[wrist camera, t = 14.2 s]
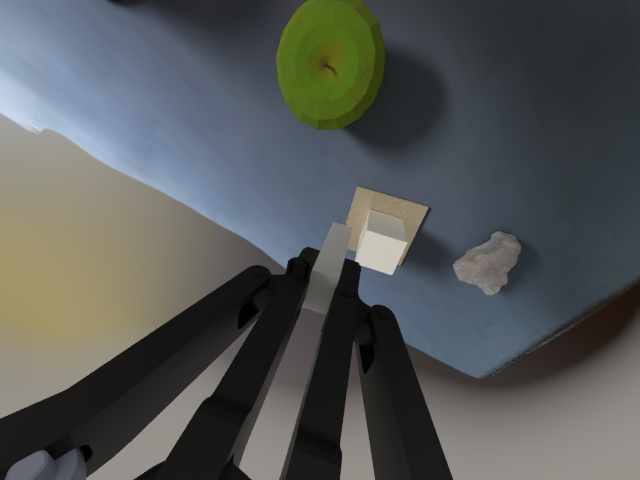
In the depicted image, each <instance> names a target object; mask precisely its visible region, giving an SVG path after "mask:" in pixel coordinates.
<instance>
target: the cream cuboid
mask: <svg viewBox="0 0 640 480" xmlns="http://www.w3.org/2000/svg"><path fill="white" fill-rule="evenodd" d="M406 245H407V238H406V233H405V228H404V223H403V219H400V218H396V217H393V216H390V215H386V214H383V213H380V212H376V211H373V210H369V212H368V215H367V218H366V221H365V223H364V226H363V229H362V232H361V235H360V237H359V242H358V247H357V253H356V258H355V262H359V264H360V265H362V266H365V267H368V268H371V269H374V270H377V271H380V272H383V273H386V274H389V275H392V274H393V272H394V270H395V268H396V266H397V264H398V262H399V260H400V258H401V255H402V253H403V251H404V249H405V247H406Z"/></svg>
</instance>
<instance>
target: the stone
mask: <svg viewBox="0 0 640 480" xmlns="http://www.w3.org/2000/svg"><path fill="white" fill-rule="evenodd" d="M520 252H521V245H520V243H519V242H518V240H517V239H516V237H515V236H514V235H511V234H506V233H503V232H500V231H496V232H495V233H493V234H492V235H491V239H490V240H489V241H487V242H486V243H483V244H482V245H480V246H477V247H474V248H472V249H470V250H468V251H467V252H466V254H465V256H462V257H461V258H460V259H458V260H456V261H455V263H454V264H453V269H454V271H455V273H456V275H457V278H458V279H459V280H460V281H463V282H467V283H469V284H474V285H477V286H479V287H480V288H481V289H482V290H483V291H484V292H485V293H486V294H487V295H493V294H494V293H498V292H499V290H500V288H501V286H503V285H506V284H507V283H508V274H507V273H508V272H509V271H510V270H511V269H512V268H513V267H514V266H515V265H516V263H517V259H518V255H519V254H520Z"/></svg>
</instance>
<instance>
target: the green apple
mask: <svg viewBox="0 0 640 480" xmlns="http://www.w3.org/2000/svg"><path fill="white" fill-rule="evenodd" d="M384 63H385V47H384V43H383V38H382V33H381V29H380V24H379V22H378V20H377V19H376V18H375V17H374V15H373V14H372V13H371V12H370V10H369V9H368V8H367V6H366V5H365V4H364V3H363V2H362V1H360V0H307V1H306V2H305V3H304V4H303V5H302V6H300V7H299V8H298V9H297V10H296V12H295V13H294V15H293V16H292V18H291V19H290V21H289V23H288V24H287V26H286V27H285V29H284V30H283V33H282V36H281V40H280V44H279V47H278V51H277V55H276V64H277V74H278V83H279V86H280V88H281V91H282V94H283V97H284V100H285V102H286V105H287V106H288V107H289V108H290V110H291V111H292V112H293V113H294V115H295V116H296V117H297V119H298V120H299V121H300V122H302V123H305V124H307V125H309V126H311V127H314V128H316V129H318V130H329V129H342V128H343V127H345V126H347V125H349V124H350V123H352V122H354V121H355V120H357V119H359V118H360V117H361V116H362V114H363V113H364V112H365V111H366V110H367V109H368V108H369V107H370V105H371V104H372V103H373V102H374V100H375V97H376V95H377V93H378V90H379V88H380V85H381V83H382V80H383V74H384Z"/></svg>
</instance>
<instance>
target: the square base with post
mask: <svg viewBox="0 0 640 480" xmlns="http://www.w3.org/2000/svg"><path fill="white" fill-rule="evenodd" d="M428 208H429V207H428V206H426V205H423V204H420V203H416V202H413V201H409V200H406V199H402V198H399V197H396V196H392V195H389V194H385V193H382V192H378V191H375V190H372V189H368V188H365V187H361V186H357V190H356V193H355V196H354V199H353V202H352V206H351V209H350V212H349V215H348V218H347V222H346V225H345V226H348V227H351V228H352V232H351V236H350V240H349V243H348V247H347V249H349V250H353V251H356V252H357V247H358V242H359V237H360V235H361V232H362V229H363V226H364V223H365V221H366V218H367V215H368V212H369V210H373V211H376V212H380V213H383V214H386V215H390V216H393V217H396V218H400V219H403V223H404V228H405V233H406V238H407V245H406V247H405V249H404V251H403V253H402V255H401V258H400V260H399V262H398V264H397V265H401V263H402V261H403V259H404V257H405V255H406V253H407V251H408V249H409V247H410V245H411V243H412V241H413V238H414V236H415V234H416V232H417V230H418V228H419V226H420V224H421V222H422V220H423V218H424V216H425V214H426V212H427V210H428Z"/></svg>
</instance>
